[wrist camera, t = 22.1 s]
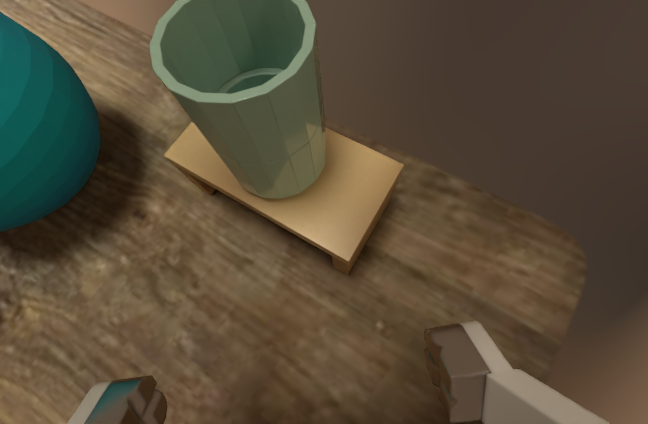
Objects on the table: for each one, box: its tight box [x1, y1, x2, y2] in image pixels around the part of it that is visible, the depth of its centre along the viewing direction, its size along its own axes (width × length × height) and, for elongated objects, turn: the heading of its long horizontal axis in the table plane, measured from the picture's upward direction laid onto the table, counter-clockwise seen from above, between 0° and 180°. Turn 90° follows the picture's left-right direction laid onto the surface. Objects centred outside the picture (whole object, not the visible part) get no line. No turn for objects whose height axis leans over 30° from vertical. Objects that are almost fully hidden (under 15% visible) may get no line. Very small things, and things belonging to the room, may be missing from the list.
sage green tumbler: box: [149, 0, 327, 199], centre depth 15 cm, size 6×6×9 cm
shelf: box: [164, 122, 404, 275], centre depth 22 cm, size 14×7×6 cm, turn 59°
